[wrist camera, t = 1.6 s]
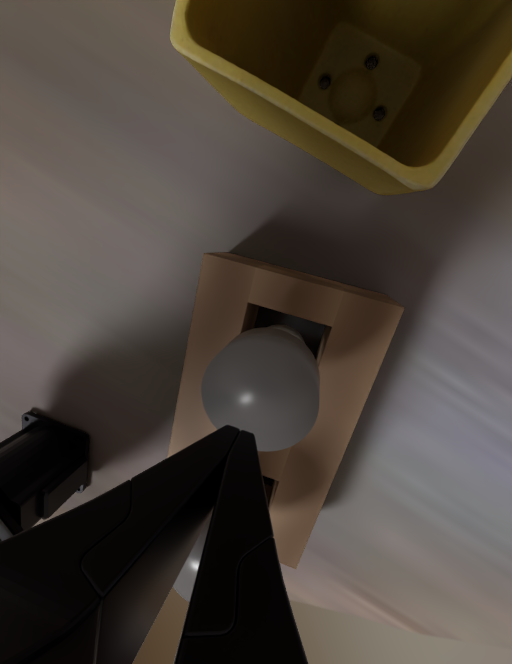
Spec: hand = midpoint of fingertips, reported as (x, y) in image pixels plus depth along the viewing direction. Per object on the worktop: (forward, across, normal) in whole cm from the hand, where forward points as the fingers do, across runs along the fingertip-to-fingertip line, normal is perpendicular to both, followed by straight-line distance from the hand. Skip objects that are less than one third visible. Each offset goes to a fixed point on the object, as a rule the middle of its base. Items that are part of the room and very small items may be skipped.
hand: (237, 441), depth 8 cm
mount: (+12, 0, +5) cm, 13 cm away
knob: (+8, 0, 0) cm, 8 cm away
